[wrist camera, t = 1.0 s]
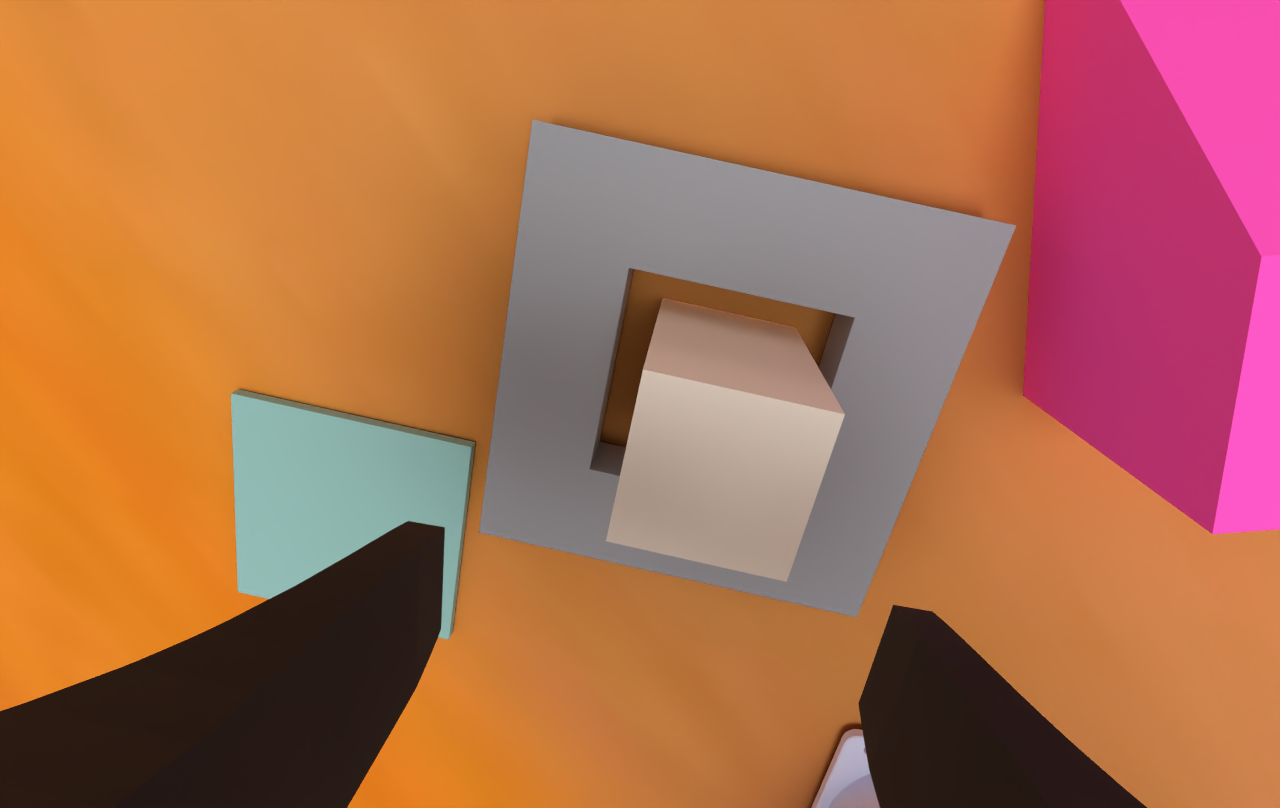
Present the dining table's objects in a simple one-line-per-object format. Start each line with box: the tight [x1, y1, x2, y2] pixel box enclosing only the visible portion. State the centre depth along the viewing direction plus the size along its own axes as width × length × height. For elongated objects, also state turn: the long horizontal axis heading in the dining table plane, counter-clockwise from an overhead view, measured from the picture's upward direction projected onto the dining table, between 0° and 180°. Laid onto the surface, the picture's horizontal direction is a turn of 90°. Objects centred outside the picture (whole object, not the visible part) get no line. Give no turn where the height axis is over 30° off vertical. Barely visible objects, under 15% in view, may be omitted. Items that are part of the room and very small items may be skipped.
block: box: [606, 298, 845, 582], centre depth 16 cm, size 4×4×7 cm
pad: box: [231, 389, 475, 639], centre depth 22 cm, size 8×8×1 cm
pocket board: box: [479, 120, 1016, 617], centre depth 19 cm, size 12×12×2 cm
